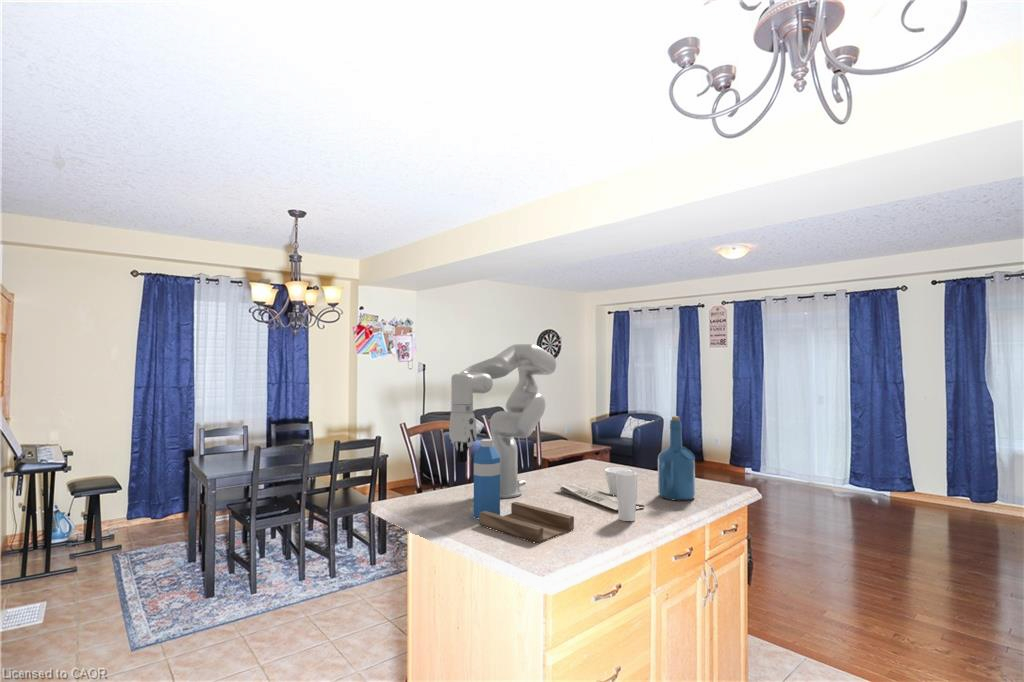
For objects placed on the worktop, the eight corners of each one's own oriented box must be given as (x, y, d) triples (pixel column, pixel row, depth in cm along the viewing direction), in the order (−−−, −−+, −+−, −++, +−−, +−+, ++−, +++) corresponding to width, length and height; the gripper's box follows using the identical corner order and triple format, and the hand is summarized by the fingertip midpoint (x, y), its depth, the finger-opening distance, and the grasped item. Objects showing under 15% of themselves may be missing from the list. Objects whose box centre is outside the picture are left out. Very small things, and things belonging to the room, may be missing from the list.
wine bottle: (651, 496, 196) (650, 416, 197) (670, 490, 205) (669, 413, 206) (684, 504, 186) (683, 419, 187) (703, 497, 195) (701, 416, 196)
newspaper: (644, 509, 181) (644, 499, 181) (618, 516, 174) (617, 505, 174) (578, 488, 210) (578, 479, 210) (553, 493, 204) (553, 484, 204)
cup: (603, 496, 196) (603, 472, 196) (606, 490, 206) (606, 466, 206) (630, 498, 193) (630, 473, 193) (632, 492, 203) (632, 468, 203)
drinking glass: (629, 515, 173) (629, 469, 173) (642, 521, 166) (641, 474, 167) (612, 517, 170) (611, 471, 171) (623, 524, 164) (623, 475, 164)
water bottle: (495, 521, 167) (494, 442, 168) (468, 518, 170) (468, 441, 171) (504, 513, 176) (504, 438, 177) (479, 510, 179) (479, 437, 180)
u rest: (516, 513, 175) (516, 501, 175) (573, 529, 158) (573, 516, 159) (479, 525, 163) (479, 512, 163) (537, 544, 146) (537, 529, 146)
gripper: (484, 409, 180) (484, 463, 179) (456, 407, 190) (456, 457, 190) (467, 411, 175) (467, 466, 174) (440, 408, 185) (440, 460, 184)
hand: (462, 461), depth 182 cm, fingers closed
